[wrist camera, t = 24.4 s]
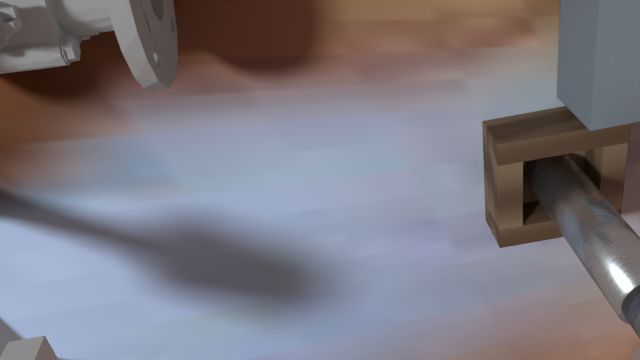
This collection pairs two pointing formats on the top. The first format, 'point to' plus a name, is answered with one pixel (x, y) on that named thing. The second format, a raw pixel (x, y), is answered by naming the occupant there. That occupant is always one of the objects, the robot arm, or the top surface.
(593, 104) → the socket block
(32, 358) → the robot arm
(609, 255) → the peg
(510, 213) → the brown square frame
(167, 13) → the valve
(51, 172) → the top surface
